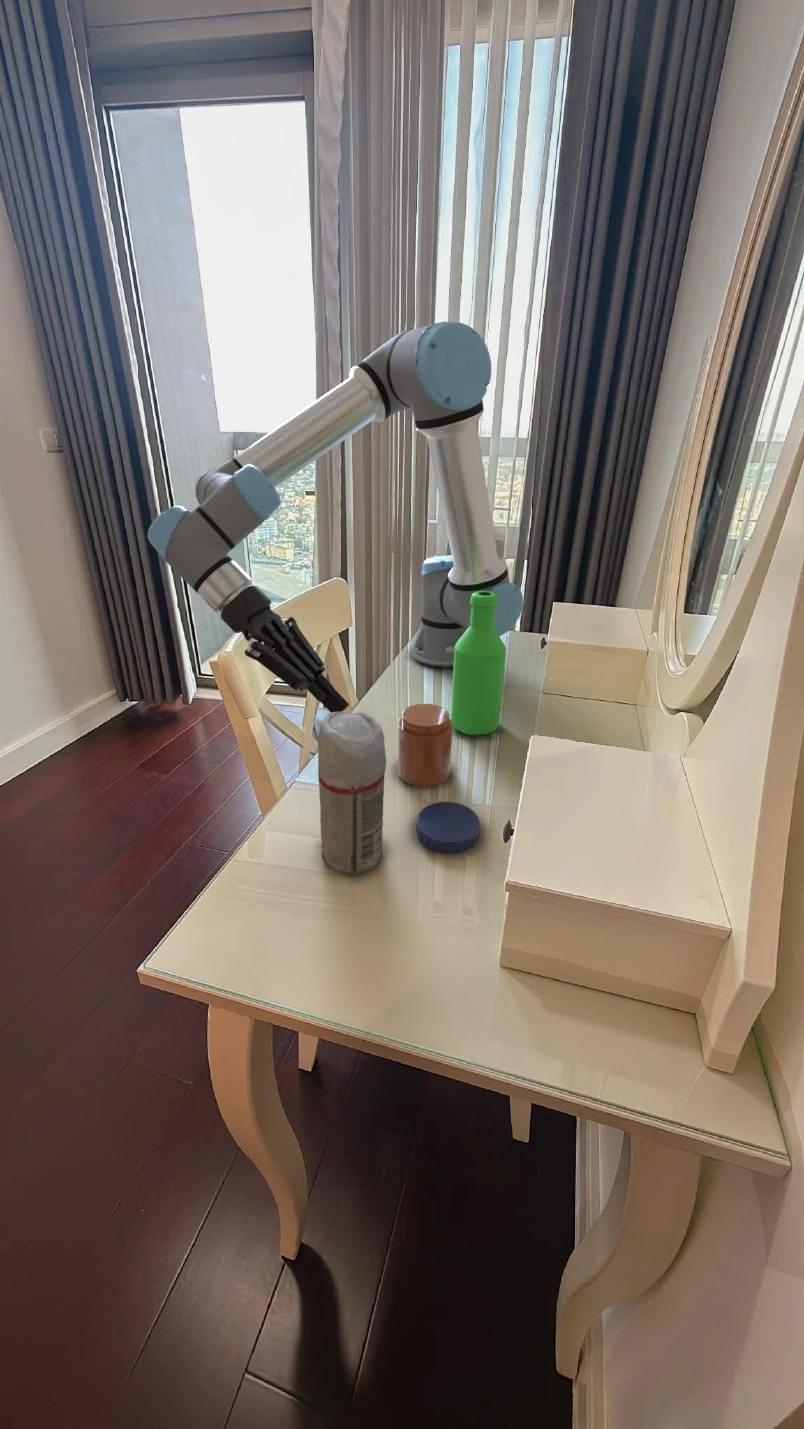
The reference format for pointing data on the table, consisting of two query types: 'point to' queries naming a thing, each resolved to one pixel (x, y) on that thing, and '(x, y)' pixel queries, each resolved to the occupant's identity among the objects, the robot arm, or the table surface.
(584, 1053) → the table surface
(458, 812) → the lid
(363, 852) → the spray can
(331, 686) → the robot arm
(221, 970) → the table surface
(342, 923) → the table surface
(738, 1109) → the table surface
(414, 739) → the jar
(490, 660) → the bottle
